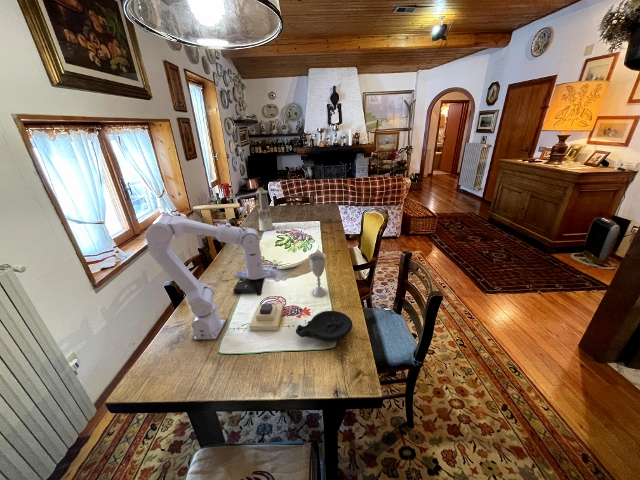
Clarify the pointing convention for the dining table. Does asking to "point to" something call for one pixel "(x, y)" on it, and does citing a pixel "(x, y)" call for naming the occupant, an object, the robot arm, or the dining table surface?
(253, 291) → the browning panel
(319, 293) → the chalice
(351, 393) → the dining table surface
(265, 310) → the switch
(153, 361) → the dining table surface
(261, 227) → the lamp
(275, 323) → the stepped cream base
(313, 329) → the oil lamp
